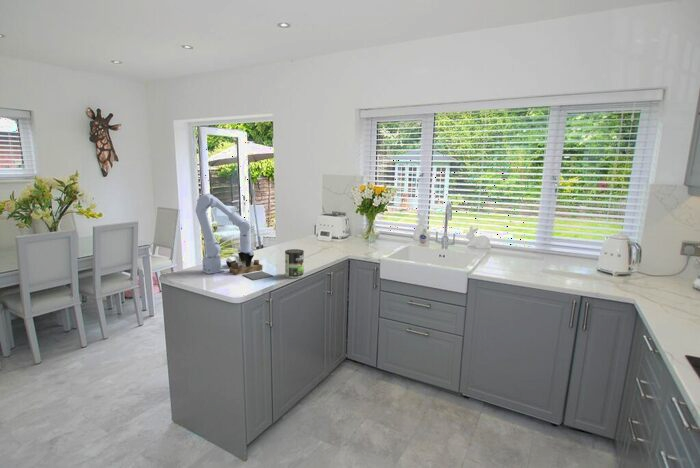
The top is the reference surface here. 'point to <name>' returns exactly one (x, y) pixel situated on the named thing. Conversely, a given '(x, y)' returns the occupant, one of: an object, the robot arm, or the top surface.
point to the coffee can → (294, 263)
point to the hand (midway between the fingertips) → (246, 265)
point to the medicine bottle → (233, 259)
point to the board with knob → (238, 270)
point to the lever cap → (243, 264)
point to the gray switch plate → (257, 275)
